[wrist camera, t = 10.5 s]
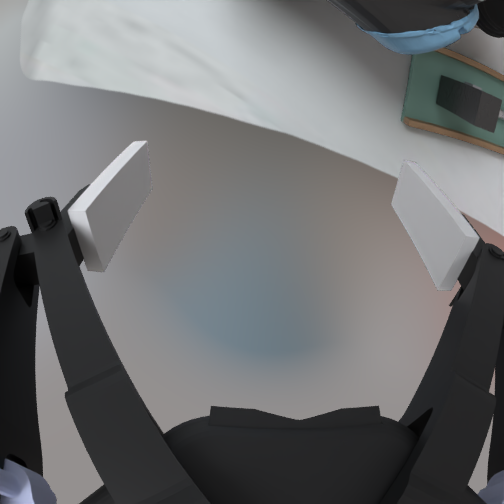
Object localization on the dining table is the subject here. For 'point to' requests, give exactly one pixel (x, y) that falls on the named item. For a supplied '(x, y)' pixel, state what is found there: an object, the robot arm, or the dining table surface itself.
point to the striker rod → (470, 103)
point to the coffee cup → (491, 17)
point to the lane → (438, 118)
